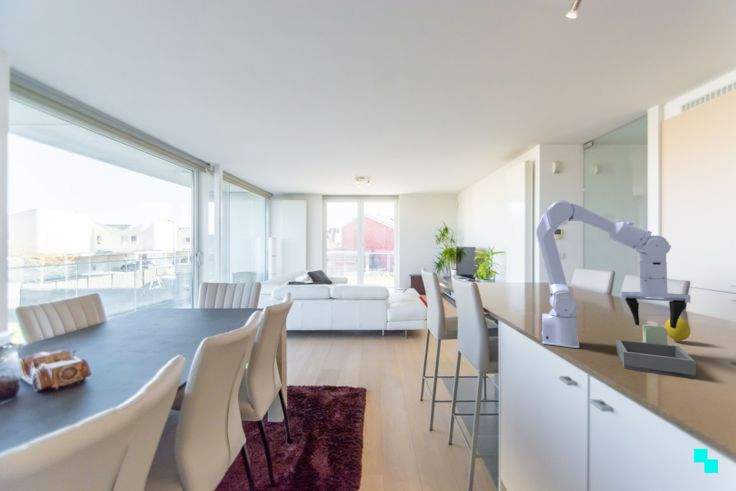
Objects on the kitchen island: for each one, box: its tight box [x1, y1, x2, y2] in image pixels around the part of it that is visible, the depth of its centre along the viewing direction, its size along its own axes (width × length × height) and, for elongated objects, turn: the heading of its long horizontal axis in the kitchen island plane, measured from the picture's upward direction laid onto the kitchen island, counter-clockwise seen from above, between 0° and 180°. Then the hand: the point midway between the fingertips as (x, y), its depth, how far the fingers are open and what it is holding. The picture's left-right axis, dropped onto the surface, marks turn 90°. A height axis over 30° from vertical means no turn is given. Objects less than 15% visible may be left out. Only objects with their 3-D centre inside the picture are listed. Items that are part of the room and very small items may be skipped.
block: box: [642, 324, 669, 345], centre depth 89 cm, size 4×4×7 cm
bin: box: [615, 338, 697, 380], centre depth 80 cm, size 13×13×4 cm
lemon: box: [664, 317, 691, 343], centre depth 98 cm, size 6×6×8 cm
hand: (654, 326), depth 89 cm, fingers open, 7 cm apart
